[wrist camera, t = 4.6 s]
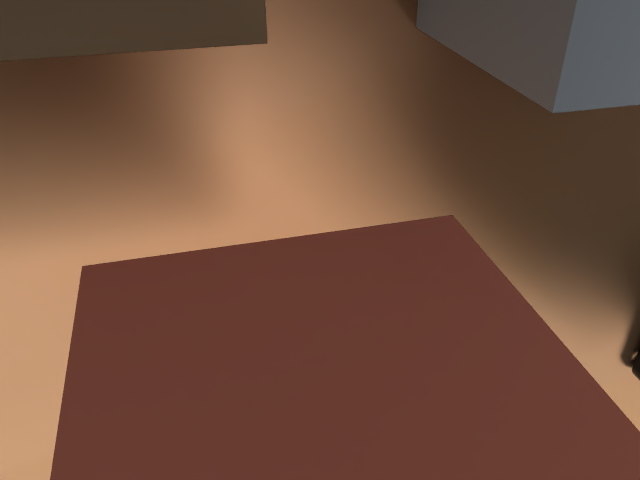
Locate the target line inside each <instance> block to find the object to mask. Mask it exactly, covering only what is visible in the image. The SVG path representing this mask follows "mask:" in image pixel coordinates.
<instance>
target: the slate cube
mask: <svg viewBox="0 0 640 480" xmlns="http://www.w3.org/2000/svg"><path fill="white" fill-rule="evenodd" d="M416 28H417V29H419V30H420V31H422V32H424V33H425V34H427V35H428V36H430V37H432V38H433V39H435V40H436V41H438V42H440V43H441V44H443V45H444V46H446V47H448V48H449V49H451V50H452V51H454V52H456V53H457V54H459V55H460V56H462V57H463V58H465V59H467V60H468V61H470V62H471V63H473V64H475V65H476V66H478V67H479V68H481V69H483V70H484V71H486V72H487V73H489V74H491V75H492V76H494V77H495V78H497V79H498V80H500V81H502V82H503V83H505V84H506V85H508V86H510V87H511V88H513V89H514V90H516V91H518V92H519V93H521V94H522V95H524V96H526V97H527V98H529V99H530V100H532V101H533V102H535V103H537V104H538V105H540V106H541V107H543V108H545V109H546V110H548V111H549V112H551V113H561V112H571V111H581V110H591V109H601V108H611V107H621V106H631V105H640V0H418V8H417V21H416Z"/></svg>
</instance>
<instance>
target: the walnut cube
mask: <svg viewBox="0 0 640 480" xmlns="http://www.w3.org/2000/svg"><path fill="white" fill-rule="evenodd" d="M265 43H267V27H266V7H265V0H0V61H8V60H23V59H38V58H53V57H68V56H84V55H99V54H114V53H129V52H144V51H159V50H174V49H190V48H205V47H220V46H235V45H250V44H265Z"/></svg>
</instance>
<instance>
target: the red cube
mask: <svg viewBox="0 0 640 480" xmlns="http://www.w3.org/2000/svg"><path fill="white" fill-rule="evenodd" d="M50 480H640V432H639V430H638V429H637V428H636V427H635V426H634V425H633V424H632V422H631V421H630V420H629V419H628V418H627V417H626V415H625V414H624V413H623V412H622V411H621V410H620V408H619V407H618V406H617V405H616V404H615V403H614V402H613V400H612V399H611V398H610V397H609V396H608V395H607V393H606V392H605V391H604V390H603V389H602V388H601V386H600V385H599V384H598V383H597V382H596V381H595V380H594V378H593V377H592V376H591V375H590V374H589V373H588V371H587V370H586V369H585V368H584V367H583V366H582V364H581V363H580V362H579V361H578V360H577V359H576V358H575V356H574V355H573V354H572V353H571V352H570V351H569V349H568V348H567V347H566V346H565V345H564V344H563V342H562V341H561V340H560V339H559V338H558V337H557V336H556V334H555V333H554V332H553V331H552V330H551V329H550V327H549V326H548V325H547V324H546V323H545V322H544V321H543V319H542V318H541V317H540V316H539V315H538V314H537V312H536V311H535V310H534V309H533V308H532V307H531V305H530V304H529V303H528V302H527V301H526V300H525V299H524V297H523V296H522V295H521V294H520V293H519V292H518V290H517V289H516V288H515V287H514V286H513V285H512V283H511V282H510V281H509V280H508V279H507V278H506V277H505V275H504V274H503V273H502V272H501V271H500V270H499V268H498V267H497V266H496V265H495V264H494V263H493V261H492V260H491V259H490V258H489V257H488V256H487V255H486V253H485V252H484V251H483V250H482V249H481V248H480V246H479V245H478V244H477V243H476V242H475V241H474V239H473V238H472V237H471V236H470V235H469V234H468V233H467V231H466V230H465V229H464V228H463V227H462V226H461V224H460V223H459V222H458V221H457V220H456V219H455V217H454V216H453V215H449V216H442V217H435V218H428V219H420V220H413V221H406V222H399V223H392V224H384V225H377V226H370V227H363V228H355V229H348V230H341V231H334V232H326V233H319V234H312V235H305V236H297V237H290V238H283V239H276V240H269V241H261V242H254V243H247V244H240V245H232V246H225V247H218V248H211V249H203V250H196V251H189V252H182V253H174V254H167V255H160V256H153V257H146V258H138V259H131V260H124V261H117V262H109V263H102V264H95V265H88V266H82V271H81V278H80V284H79V291H78V298H77V304H76V311H75V318H74V324H73V331H72V338H71V344H70V351H69V358H68V364H67V371H66V377H65V384H64V391H63V397H62V404H61V411H60V417H59V424H58V431H57V437H56V444H55V451H54V457H53V464H52V470H51V477H50Z"/></svg>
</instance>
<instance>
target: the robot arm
mask: <svg viewBox="0 0 640 480" xmlns="http://www.w3.org/2000/svg"><path fill="white" fill-rule="evenodd" d="M632 372H633V374H634V375H635V376H636V377H637V378H638V379H639V380H640V349H639V351H638V354H637V357H636V359H635V362H634V365H633V368H632Z"/></svg>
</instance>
